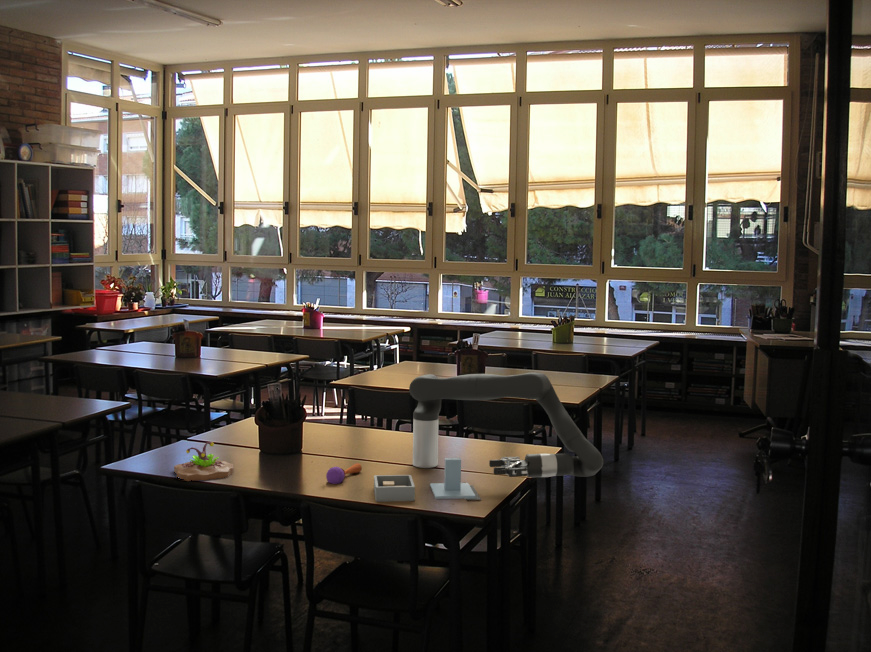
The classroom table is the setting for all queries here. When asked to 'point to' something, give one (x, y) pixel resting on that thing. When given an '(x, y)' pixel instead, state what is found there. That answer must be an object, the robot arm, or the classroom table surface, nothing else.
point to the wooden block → (388, 483)
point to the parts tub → (394, 488)
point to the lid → (452, 482)
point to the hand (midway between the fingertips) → (491, 467)
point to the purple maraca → (341, 473)
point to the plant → (203, 467)
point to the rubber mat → (474, 493)
